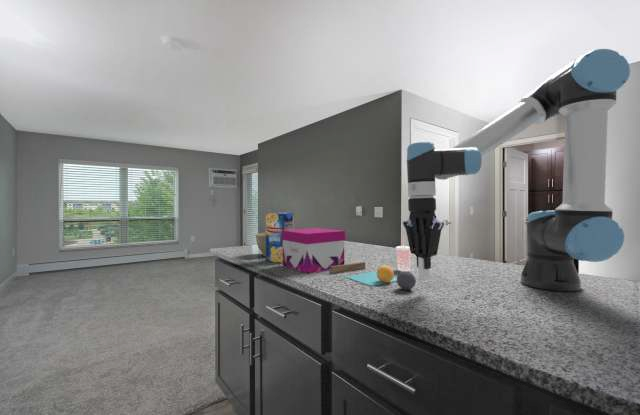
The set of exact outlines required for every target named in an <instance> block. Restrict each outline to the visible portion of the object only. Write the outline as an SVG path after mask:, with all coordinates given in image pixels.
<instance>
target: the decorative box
mask: <svg viewBox="0 0 640 415" xmlns="http://www.w3.org/2000/svg"><path fill="white" fill-rule="evenodd" d="M282 240H283V263H282V266H283V265H284V266H283V267H285V266H287V267H286V268H288V267H290V268H289V269H292V268H293V269H292V270H295V269H296V270H295V271H298V270H299V271H298V272H301V271H302V273H304V272H305V273H304V274H313V273H318V272H324V271H330V266H337V265H345V241H346V230H340V229H329V228H320V227H314V228H312V227H311V228H300V229H294V230H282Z"/></svg>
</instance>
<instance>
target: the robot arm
mask: <svg viewBox="0 0 640 415" xmlns="http://www.w3.org/2000/svg"><path fill="white" fill-rule="evenodd" d="M630 74H631V67H630V64H629V62H628V60H627V59H626V57H625V56H624V55H621V54H619V52H618V51H616V50H613V49H610V48H599V49H593V50H591V51H588V52H587V53H585V54H583V55H580V56H578V57H577V58H575V59H574V60H573V61H572V62H570V63H569V64H568V65H566V66H565V67H563V68H561V69H560V70H558V71H557V72H555V73H553V74H551V75H550V76H549V77H548V78H547V79H546V80H544V82H542V83H541V84H539V86H537V87H536V88H535V89H534V90H532V91H531V92H530V93H528V94H527V95H526V96H524V97H523V98H521V100H520V101H519V104H518V105H516V106H514V107H513V108H512V109H510V110H508V111H507V112H505V113H504V114H503V115H502V114H501V116H499V117H498V118H496V119H495V120H493V121H492V122H490V123H489V124H487V125H485V126H484V127H483V128H481V129H479V130H478V131H477V132H475V133H473V134H472V135H471V136H469V137H467V138H466V139H464V140H462V141H461V142H459V143H458V144H456V145H455V146H453V147H452V148H443V149H441V148H440V149H438V148H436V147H435V144H434V143H433V142H432V141H418V142H414V143H411V144H409V145H408V146H407V148H406V170H407V172H406V173H407V175H406V176H407V195H408V197H410V198H409V199H408V201H407V203H408V204H407V207H408V211H409V216H408V217H409V218H408V219H407V220H406V221H403V222H402V224H403V226H404V228H405V232H406V236H407V242H408V245H409V247H410V252H411V255H412V254H413V255H414V256H415V258H416V268H418V281H421V282H423V281H428V280H430V269H431V268H432V257H434V256H437V254H438V250H439V245H440V239H441V234H442V230H443V228H444V227H445V222H443V221H439V220H438V219H437V215H436V211H437V199H436V198H435V196H436V195H437V193H436V192H437V190H436V189H437V188H436V179H437V180H443V181H444V180H448V179H450V178H455V177H458V176H469V175H476V174H478V173H479V172H480V170H481V168H482V163H483V162H482V161H483V158H482V157H484V156H486V155H487V154H489V153H491V152H492V151H494V150H495V149H497V148H498V147H500V146H501V145H503V144H505V143H506V142H508V141H509V140H511V139H512V138H514V137H516V136H517V135H519V134H520V133H522V132H524V131H525V130H527V129H528V128H530V127H532V126H533V125H539V124H542V123H544V122H545V121H547V120H549V119H551V118H553V117H555V116H557V115H560V114H561V115H563V116H564V119H565V120H564V142H563V143H564V144H563V146H564V148H563V177H562V178H563V179H562V202H561V204H559V206H557V207H556V208H555V210H540V211H532V212H531V213H528V215H527V220H526V242H527V243H526V247H527V248H526V250H527V251H526V256H527V257H526V261H525V264H524V266H523V269H522V270H521V274H520V283H522V284H523V285H525V286H529V287H532V288H535V289H542V290H546V291H548V290H549V291H555V292H577V291H581V290H582V282H581V278H580V275H579V273H578V271H577V268H576V265H575V263H574V259H575V260H577V261H581V262H591V263H599V262H604V261H606V260H610V259H611V258H613V256H615V255H616V254H618V253H619V252H620V250H621V249H622V247H623V245H624V242H625V232H624V230H623V228H622V226H621V225H620V224H619V223H618V222H617V221H616V220H614V219H613V209H612V208H611V207H609V206H608V205H607V204H606V202H605V201H606V179H607V178H606V174H607V173H606V171H607V144H608V141H607V140H608V112H609V110H610V109H612V108H613V107H614V106H615V105H616V104H617V91H618V90H619V89H621V88H622V87H624V84H626V83H627V82H628V80H629V78H630Z"/></svg>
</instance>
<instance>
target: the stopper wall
mask: <svg viewBox="0 0 640 415" xmlns="http://www.w3.org/2000/svg"><path fill="white" fill-rule="evenodd" d="M365 269H366V262H365V261H362V262H361V261H360V262H351V263H347V264H345V263H344V265H337V266H330V270H329V273H330V274H331V275H332V274H340V273H347V272H352V271H353V272H354V271H359V270H365Z"/></svg>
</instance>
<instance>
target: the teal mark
mask: <svg viewBox="0 0 640 415" xmlns="http://www.w3.org/2000/svg"><path fill="white" fill-rule="evenodd" d="M345 278H346V279H349V280H352V281H355V282H357V283H360V284H363V285H365V286H370V287H374V286H379V285H385V284H389V283H391V284H392V283H394V282H395V283H397V277H395V276H393V279H392V280H391V281H390V282H386V283H385V282H381V281H380V280H379V279H378V277H377V271H372V272H365V273H360V274H353V275H347V276H345Z"/></svg>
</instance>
